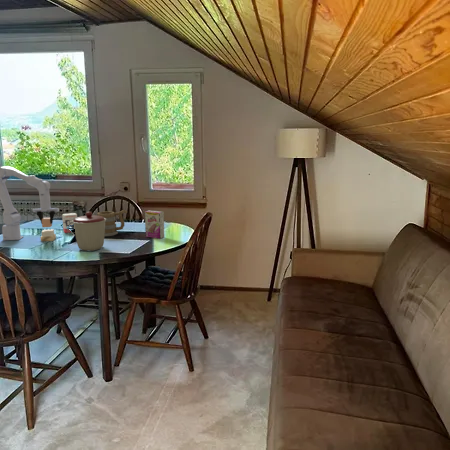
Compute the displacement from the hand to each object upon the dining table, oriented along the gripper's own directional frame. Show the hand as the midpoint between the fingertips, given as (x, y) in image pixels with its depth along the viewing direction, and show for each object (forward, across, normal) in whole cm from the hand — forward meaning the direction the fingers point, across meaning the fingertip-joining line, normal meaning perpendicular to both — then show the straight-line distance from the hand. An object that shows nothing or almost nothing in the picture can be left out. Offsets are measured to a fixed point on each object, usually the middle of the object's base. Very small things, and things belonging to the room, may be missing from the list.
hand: (47, 223), depth 255 cm
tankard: (+10, +37, +11) cm, 40 cm away
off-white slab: (+7, 0, 0) cm, 7 cm away
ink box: (+10, +9, +21) cm, 25 cm away
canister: (+10, +29, -26) cm, 40 cm away
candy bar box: (+10, +64, -4) cm, 65 cm away
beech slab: (+10, 0, 0) cm, 10 cm away
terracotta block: (+2, 0, 0) cm, 2 cm away
